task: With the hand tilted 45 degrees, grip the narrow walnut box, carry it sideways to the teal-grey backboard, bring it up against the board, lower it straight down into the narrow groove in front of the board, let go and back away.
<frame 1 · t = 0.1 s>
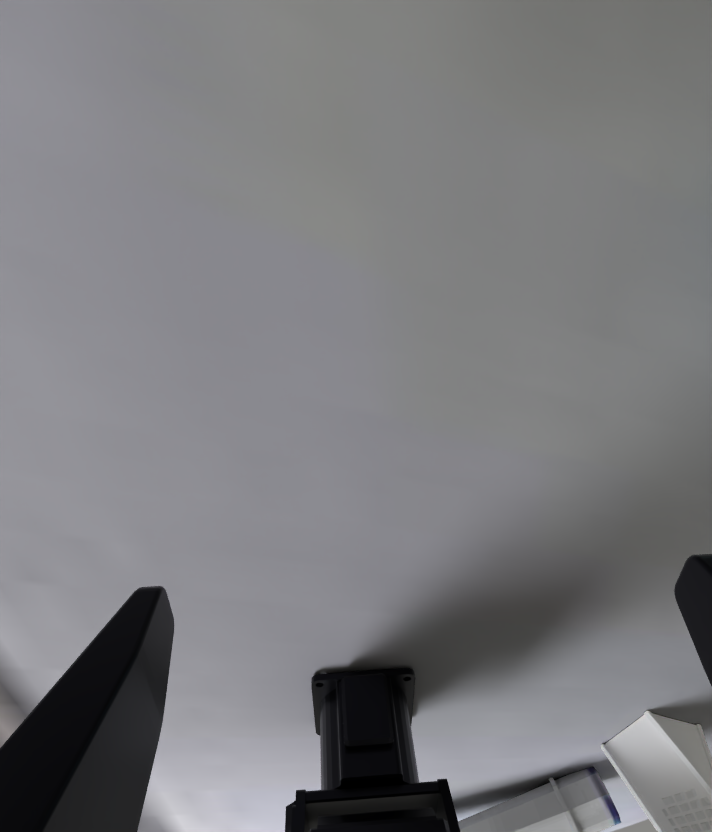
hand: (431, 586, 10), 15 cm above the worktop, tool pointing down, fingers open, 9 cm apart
syringe: (449, 801, 48), on the worktop
skyscraper: (650, 733, 43), on the worktop
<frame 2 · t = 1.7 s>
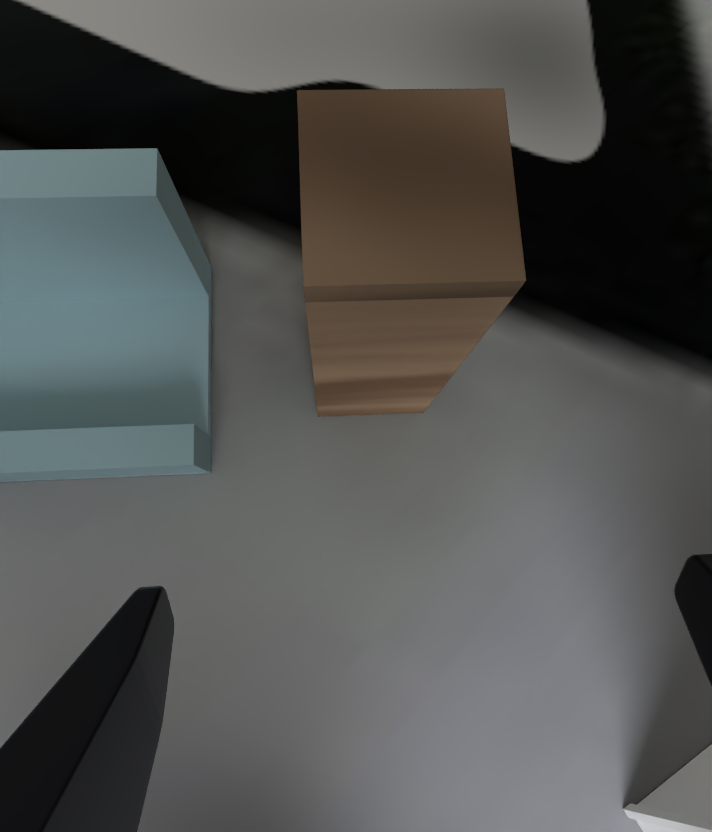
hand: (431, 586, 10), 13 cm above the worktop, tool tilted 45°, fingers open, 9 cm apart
backboard channel: (92, 361, 24), on the worktop
walnut box: (368, 363, 24), on the worktop
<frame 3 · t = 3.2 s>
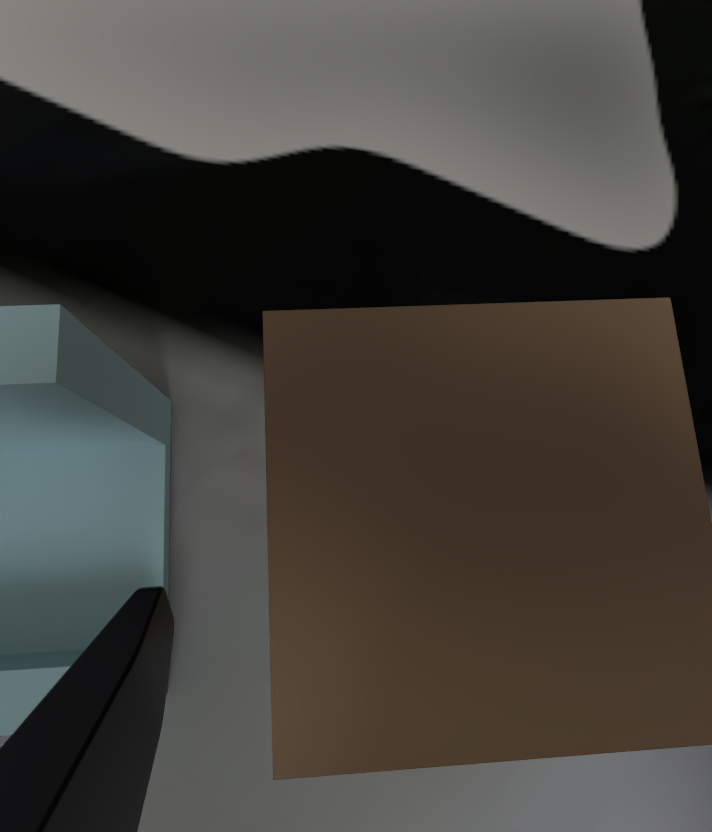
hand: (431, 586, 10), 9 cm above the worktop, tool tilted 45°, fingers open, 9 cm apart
backboard channel: (8, 535, 18), on the worktop
walnut box: (379, 530, 18), on the worktop
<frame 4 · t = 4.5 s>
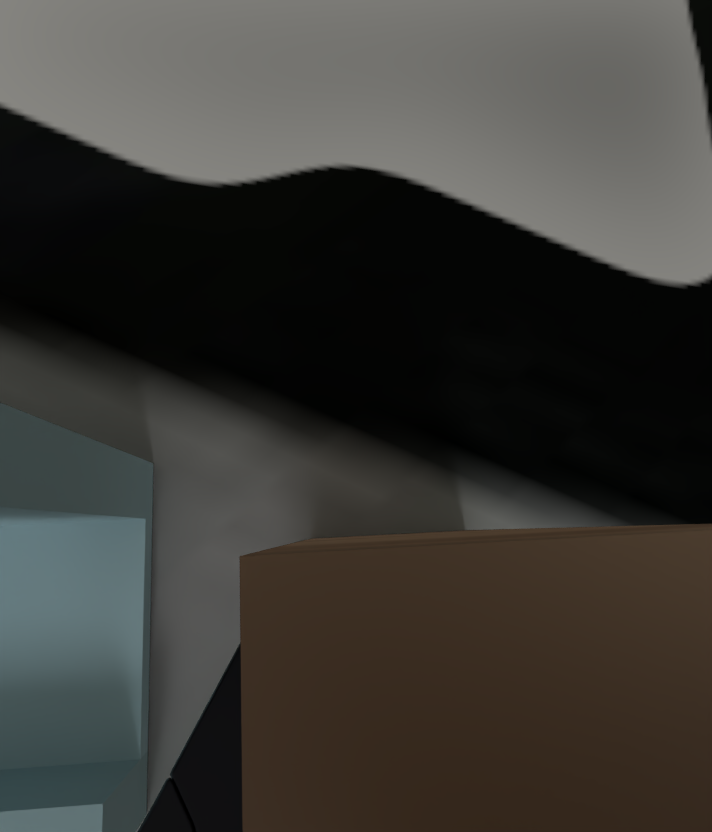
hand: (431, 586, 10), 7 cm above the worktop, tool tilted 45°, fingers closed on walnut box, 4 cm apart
walnut box: (394, 616, 16), on the worktop, touching gripper
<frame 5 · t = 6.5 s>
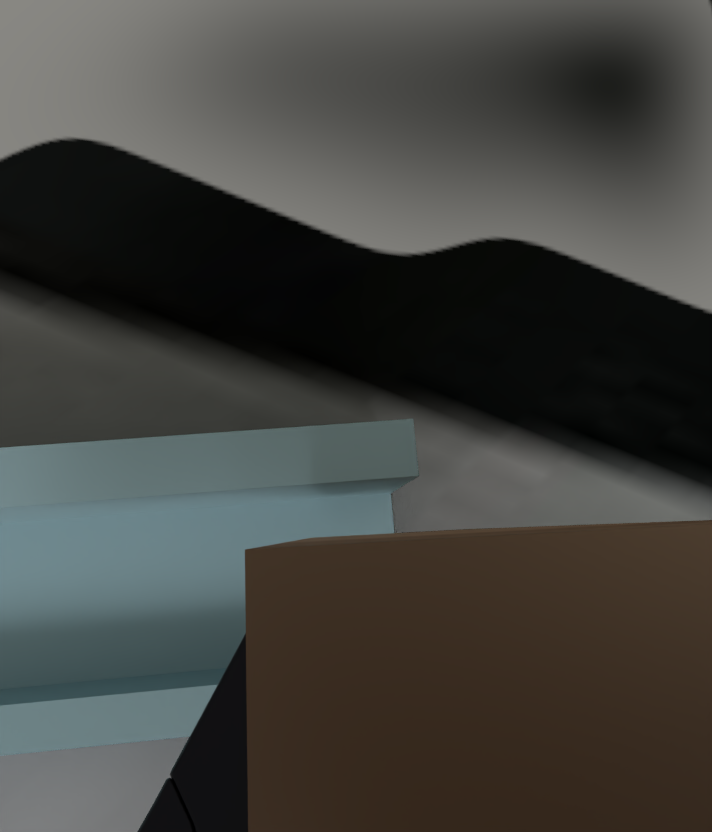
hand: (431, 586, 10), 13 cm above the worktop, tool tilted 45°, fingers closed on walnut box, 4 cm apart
backboard channel: (270, 568, 23), on the worktop
walnut box: (394, 615, 16), point 7 cm above the worktop, touching gripper
when the fingers open (9 cm above the worktop, at t = 8.8 s): walnut box drops 2 cm, resting on backboard channel.
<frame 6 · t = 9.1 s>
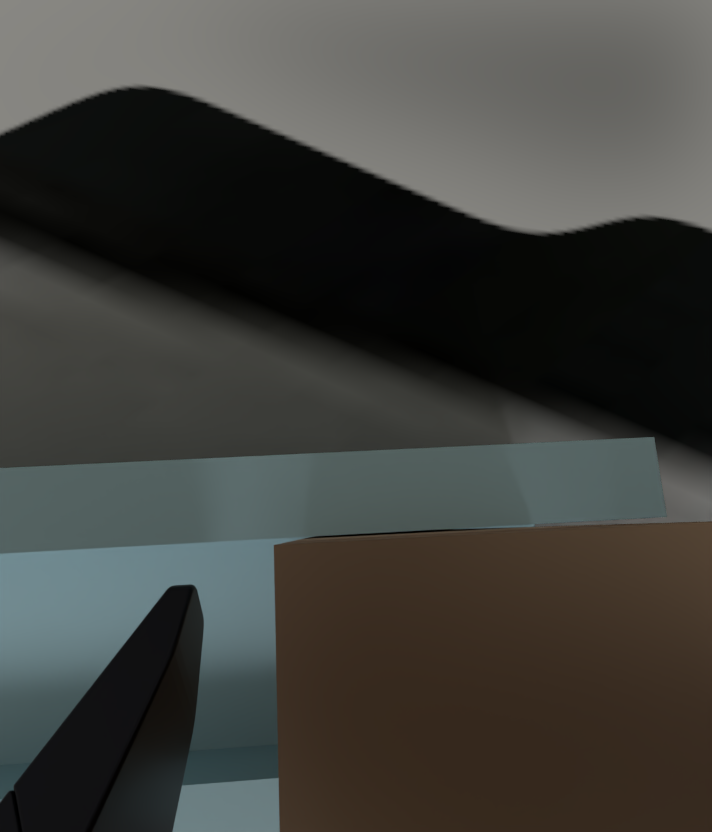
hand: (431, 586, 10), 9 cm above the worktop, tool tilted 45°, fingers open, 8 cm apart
backboard channel: (385, 612, 18), on the worktop
walnut box: (388, 606, 18), point 1 cm above the worktop, touching backboard channel
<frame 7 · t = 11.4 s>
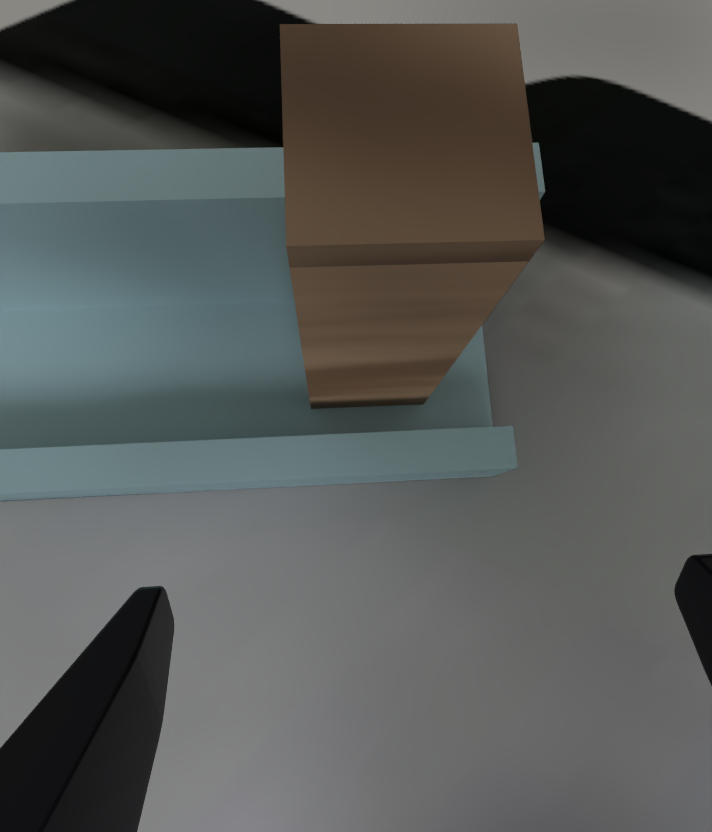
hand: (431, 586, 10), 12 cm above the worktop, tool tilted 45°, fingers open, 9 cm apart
backboard channel: (362, 363, 23), on the worktop
walnut box: (364, 352, 23), point 1 cm above the worktop, touching backboard channel
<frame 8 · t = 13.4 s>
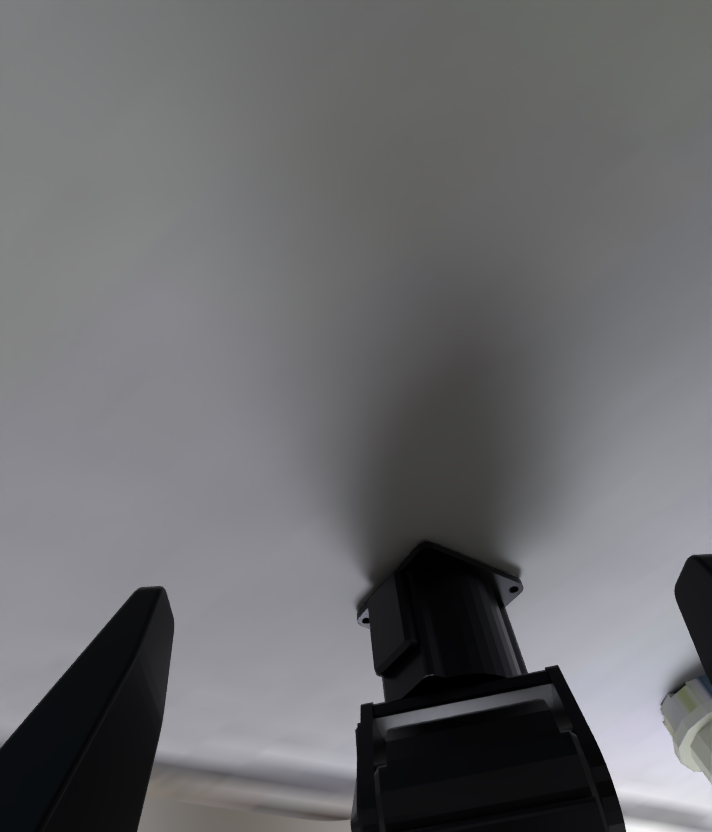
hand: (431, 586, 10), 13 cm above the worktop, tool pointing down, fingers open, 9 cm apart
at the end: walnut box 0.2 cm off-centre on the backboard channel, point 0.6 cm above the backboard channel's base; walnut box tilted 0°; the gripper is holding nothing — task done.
